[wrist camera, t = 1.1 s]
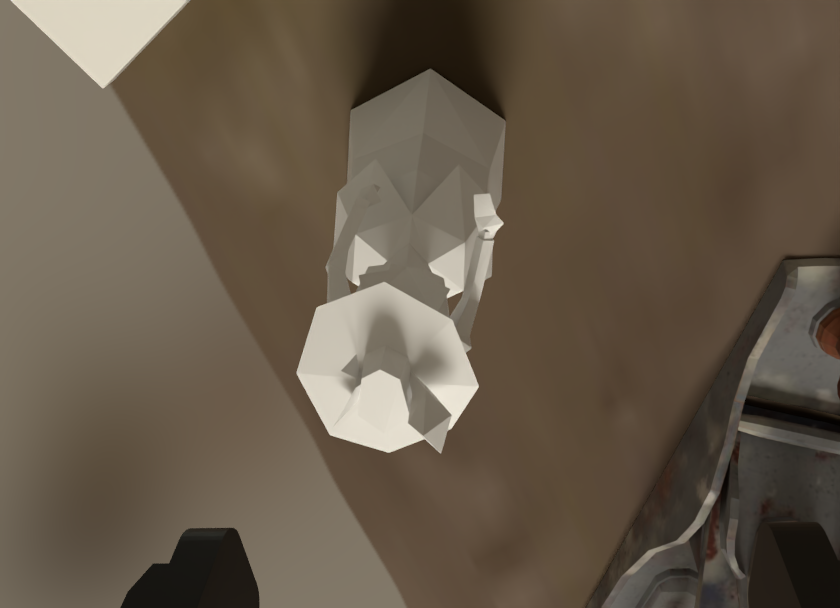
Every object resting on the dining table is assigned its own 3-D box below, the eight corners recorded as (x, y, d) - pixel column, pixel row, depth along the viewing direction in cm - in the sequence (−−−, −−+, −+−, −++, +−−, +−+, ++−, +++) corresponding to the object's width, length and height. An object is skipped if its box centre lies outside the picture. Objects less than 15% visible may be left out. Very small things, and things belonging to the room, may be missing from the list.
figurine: (507, 66, 31) (533, 313, 16) (502, 242, 35) (518, 565, 20) (335, 69, 31) (203, 310, 16) (351, 241, 36) (258, 557, 21)
